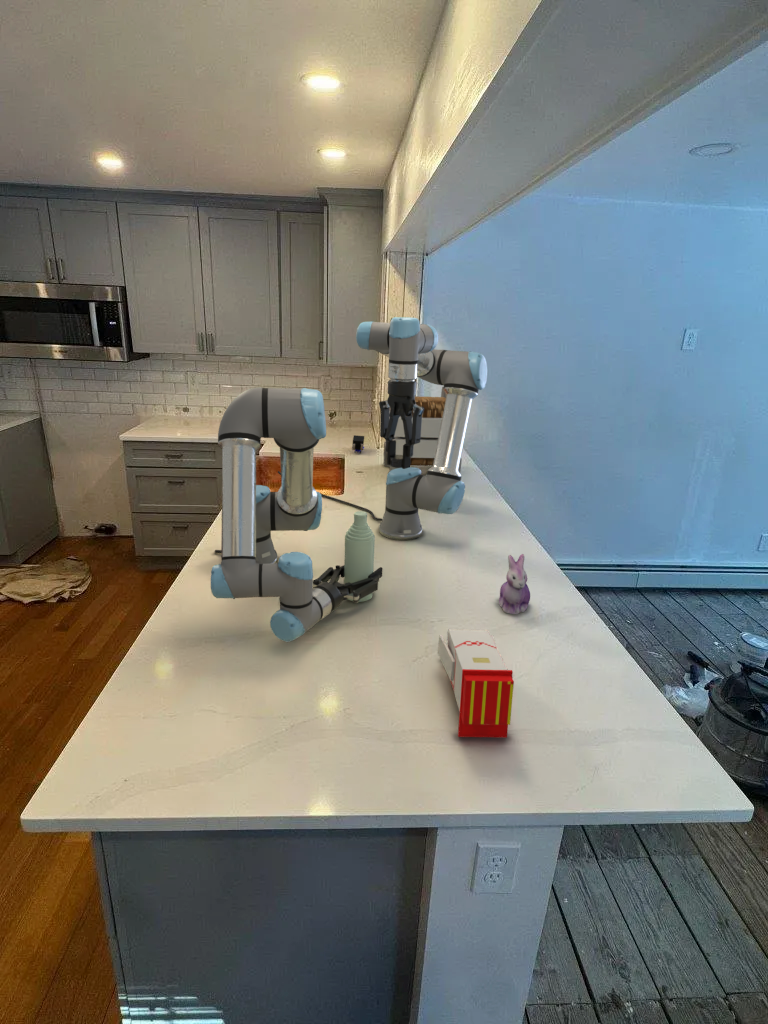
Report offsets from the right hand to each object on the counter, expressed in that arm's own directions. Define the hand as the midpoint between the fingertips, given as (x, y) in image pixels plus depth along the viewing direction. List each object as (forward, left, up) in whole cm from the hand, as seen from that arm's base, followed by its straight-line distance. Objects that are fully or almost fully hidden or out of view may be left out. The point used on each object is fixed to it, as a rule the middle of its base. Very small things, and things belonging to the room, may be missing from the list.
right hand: (398, 465), depth 156 cm
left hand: (+1, -11, -28) cm, 30 cm away
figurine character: (-127, +87, -34) cm, 157 cm away
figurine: (+33, +15, -34) cm, 50 cm away
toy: (+50, -23, -34) cm, 64 cm away
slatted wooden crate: (-77, +85, -34) cm, 120 cm away
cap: (0, 0, +2) cm, 2 cm away
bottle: (+3, -15, -34) cm, 37 cm away
